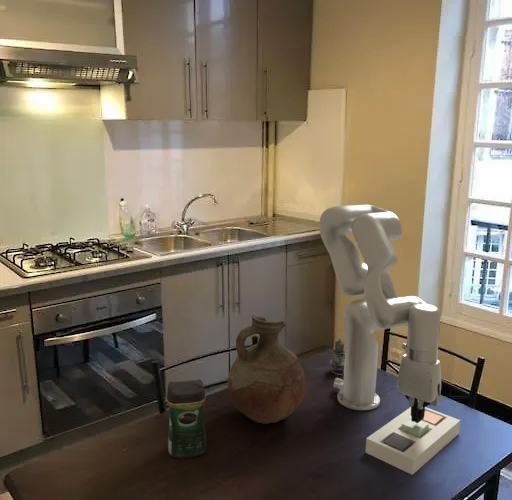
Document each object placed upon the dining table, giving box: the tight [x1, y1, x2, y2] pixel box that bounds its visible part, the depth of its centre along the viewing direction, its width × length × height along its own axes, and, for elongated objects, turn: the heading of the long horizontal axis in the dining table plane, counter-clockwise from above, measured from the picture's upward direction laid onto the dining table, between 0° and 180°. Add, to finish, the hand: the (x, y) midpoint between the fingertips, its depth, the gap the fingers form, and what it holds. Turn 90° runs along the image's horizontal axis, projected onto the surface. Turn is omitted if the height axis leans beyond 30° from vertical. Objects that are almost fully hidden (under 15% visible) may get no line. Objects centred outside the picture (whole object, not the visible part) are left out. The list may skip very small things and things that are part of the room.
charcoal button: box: [384, 434, 412, 452], centre depth 138 cm, size 5×5×2 cm
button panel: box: [365, 406, 461, 476], centre depth 144 cm, size 13×26×4 cm, turn 136°
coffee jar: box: [165, 378, 207, 459], centre depth 137 cm, size 10×8×19 cm
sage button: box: [401, 417, 429, 439], centre depth 143 cm, size 5×5×2 cm
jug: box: [227, 314, 307, 425], centre depth 152 cm, size 22×22×30 cm
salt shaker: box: [329, 338, 345, 374], centre depth 184 cm, size 6×6×12 cm
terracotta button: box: [422, 411, 443, 426], centre depth 150 cm, size 5×5×2 cm
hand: (417, 420), depth 142 cm, fingers closed
